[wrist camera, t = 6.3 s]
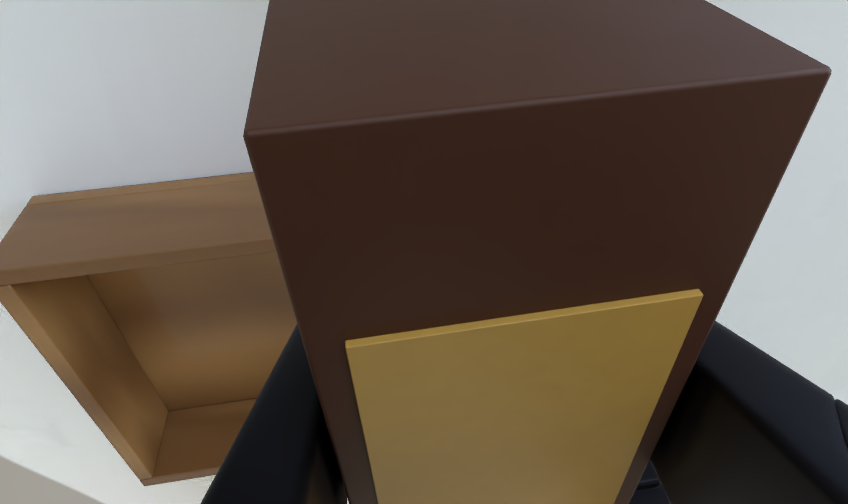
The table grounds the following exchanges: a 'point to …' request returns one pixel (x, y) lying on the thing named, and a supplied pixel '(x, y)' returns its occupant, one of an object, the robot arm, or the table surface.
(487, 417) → the chocolate bar
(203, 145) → the table surface
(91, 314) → the wooden box
